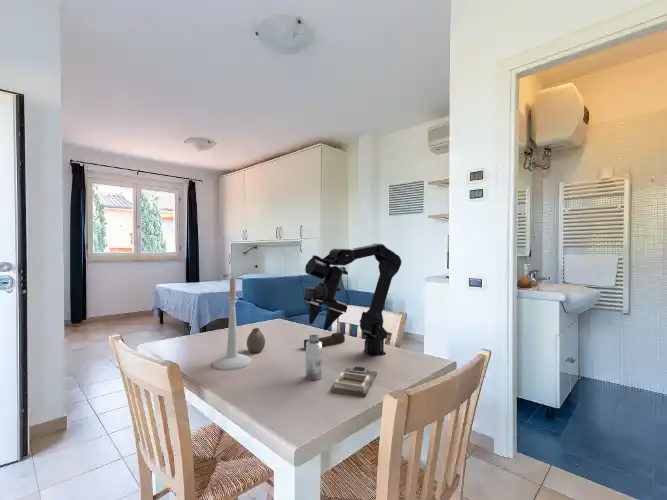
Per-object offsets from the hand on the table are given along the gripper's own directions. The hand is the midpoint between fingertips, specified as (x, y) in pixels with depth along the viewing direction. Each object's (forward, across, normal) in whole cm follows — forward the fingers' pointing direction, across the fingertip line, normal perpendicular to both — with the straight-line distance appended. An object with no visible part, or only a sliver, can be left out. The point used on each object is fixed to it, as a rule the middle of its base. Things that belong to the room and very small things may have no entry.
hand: (317, 326), depth 116 cm
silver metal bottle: (+15, +8, -1) cm, 17 cm away
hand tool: (+8, -19, +20) cm, 28 cm away
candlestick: (+21, -18, -17) cm, 33 cm away
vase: (+17, -26, -6) cm, 32 cm away
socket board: (+12, +18, +7) cm, 23 cm away
